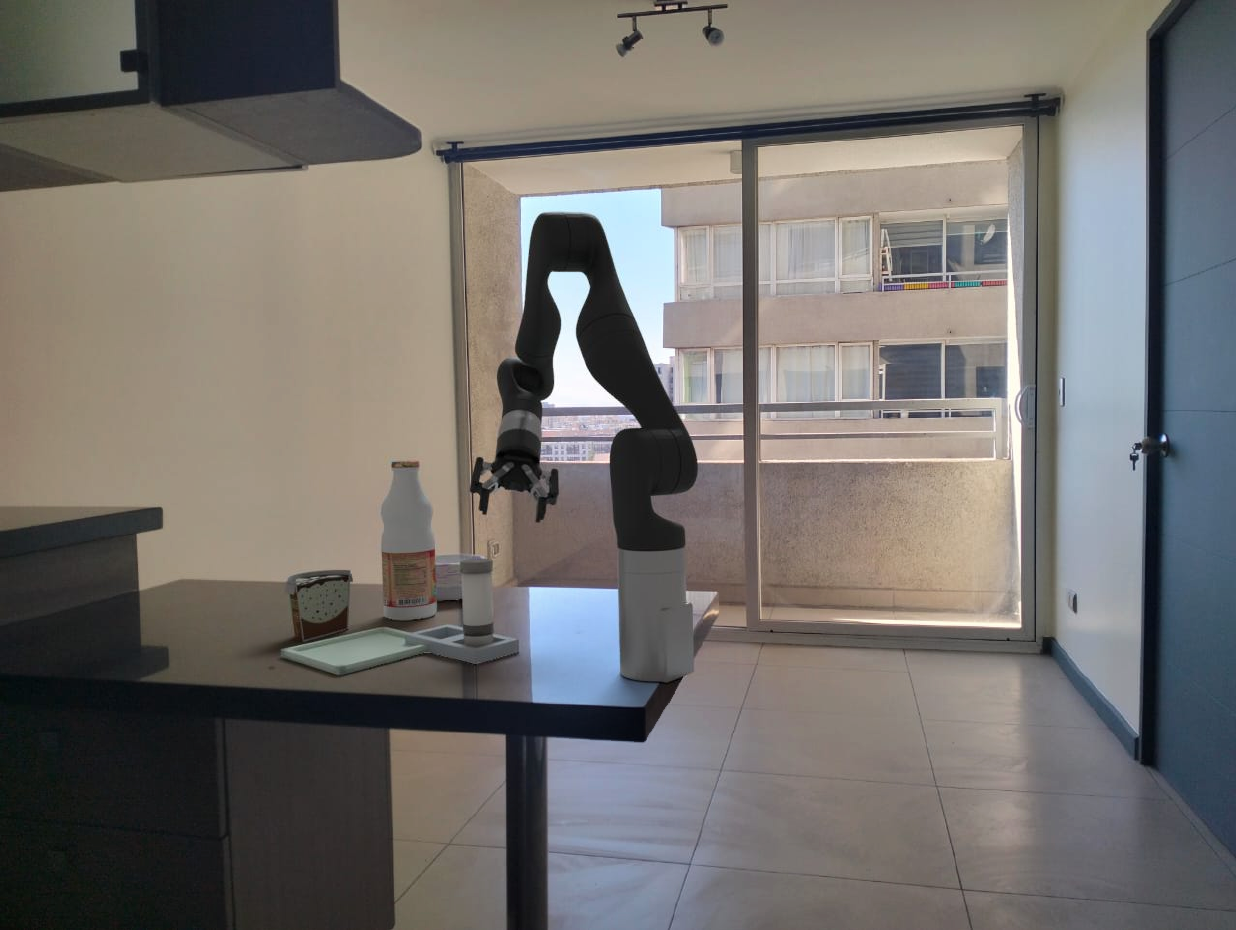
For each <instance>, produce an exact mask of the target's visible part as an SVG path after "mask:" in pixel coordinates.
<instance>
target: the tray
mask: <svg viewBox="0 0 1236 930" xmlns="http://www.w3.org/2000/svg"><path fill="white" fill-rule="evenodd" d="M409 633H410V632H409V631H405V630H404V631H403V630H400V629H396V628H391V627H388V626H381V627H376V628H372V629H367V630H362V631H357V632H353V633H350V634H349V633H348V634H343V635H340V636H335V637H331V638H326V639H325V638H324V639H322V640H318V641H317V640H316V641H313V642H308V643H303V644H300V645H295V646H290V647H285V648H281V649H280V657H281V658H282V659H286V660H290V661H293V662H296V663H299V664H302V665H305V666H308V667H311V668H314V669H317V670H321V671H323V672H325V673H326V672H327V673H331V674H333V675H336V676H339V675H340V676H343V675H347V674H348V675H349V674H351V673H356V672H359V671H363V670H366V669H370V667H371V668H374V666H375V667H378V666H377V665H379V666H382V665H386V664H389V663H393V661H394V662H397V660H398V661H400V659H402V660H404V659H403V658H406V657H409V658H411V657H410V656H413V655H417V654H421V653H424V652H427V645H425V644H421V645H417V646H414V645H410V644H406V643H405V634H409ZM421 655H422V654H421ZM417 656H418V655H417ZM413 657H414V656H413ZM406 659H407V658H406ZM385 663H386V664H385ZM381 664H382V665H381Z"/></svg>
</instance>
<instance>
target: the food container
mask: <svg viewBox="0 0 1236 930" xmlns="http://www.w3.org/2000/svg"><path fill="white" fill-rule="evenodd" d="M352 574H353V573H351V569H350V570H349V569H325V570H323V569H322V570H313V571H307V572H300V573H296V574H292V575H290V576H288V577H287V581H285V586H284V593H286V594H288V595H289V602H290V609H291V618H292V623H293V624H292V625H293V631H294V632H293V633H294V638H295V639H294V640H296V641H297V642H301V643H304V642H308V641H311V640H315V639H319V638H322V637H327V636H329V635H334V634H337V632H338V633H341V632H344V631H343V630H345V631H347V630H346V629H348V630H349V621H350V620H349V617H350V615H349V613H350V594H351V583H353V582H354V578H353V575H352ZM340 631H341V632H340Z"/></svg>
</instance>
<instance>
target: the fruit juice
mask: <svg viewBox="0 0 1236 930" xmlns="http://www.w3.org/2000/svg"><path fill="white" fill-rule="evenodd" d="M420 465H421V464H420V462H419V460H396V461H395V460H394V461H391V471H392V472H393V476H392V481H391V485H390V489H389V491H388V493H387V495H386V497H385V498H384V500H383V502H382V503H381V506H380V516H381V519H382V523H383V527H384V528H383V531H382V534H381V539H380V540H381V541H380V543H381V544H380V548H381V549H380V551H381V570H382V572H381V574H382V600H383V604H382V605H383V615H384V617H385V618H386V619H387V618H388V619H387V620H391V619H392V620H391V621H414V620H413V619H418V620H422V619H421V618H423V619H428V618H431V617H433V616H435V615H436V613H437V609H438V601H437V596H436V566H435V555H436V542H435V541H436V540H435V534H434V531H433V529H432V526H431V525H432V524H431V523H432V518H433V514H434V509H433V503H432V501H431V499H430V498H429V496H427V494H426V493H425V491H424V488H423V486H422V483H421V480H420V477H419V470H420Z"/></svg>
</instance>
